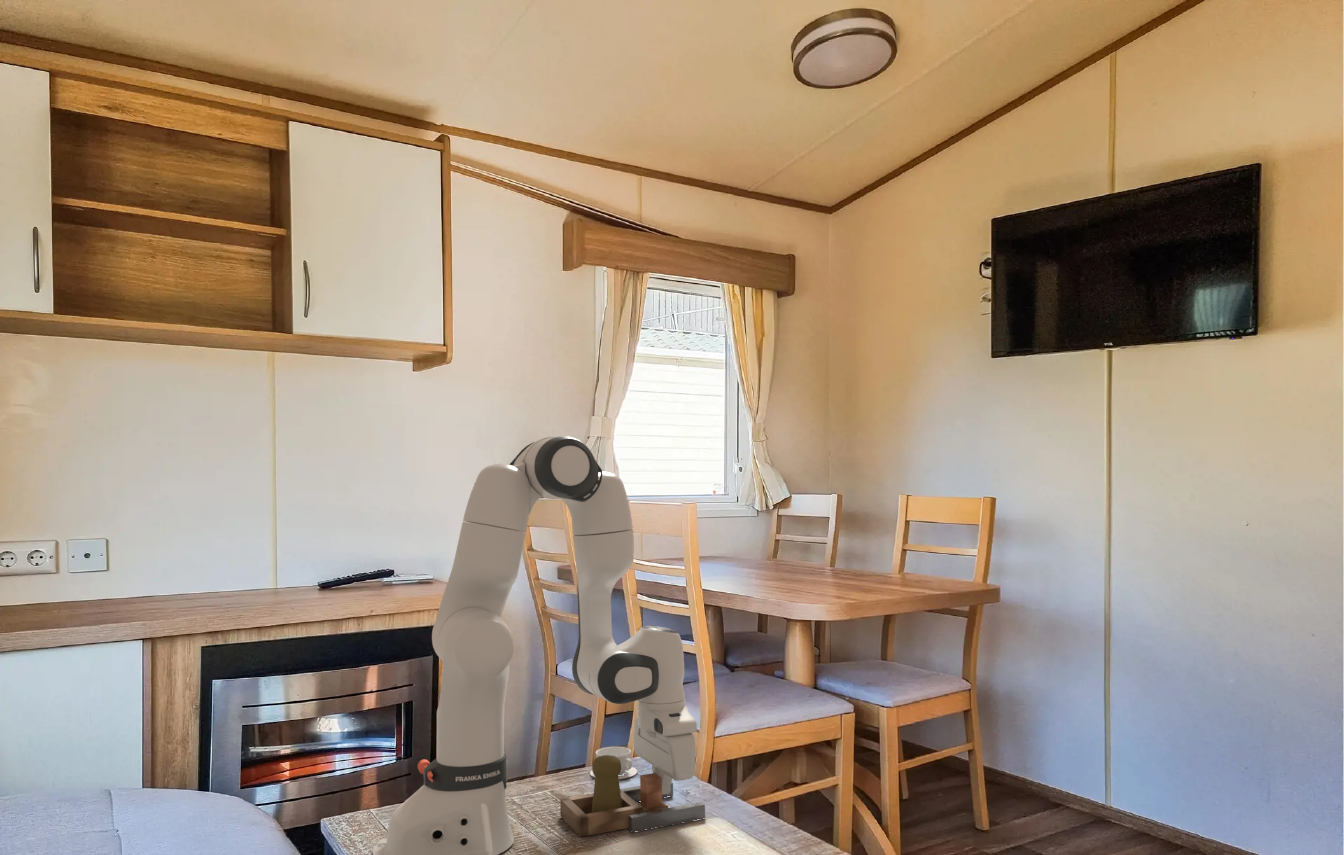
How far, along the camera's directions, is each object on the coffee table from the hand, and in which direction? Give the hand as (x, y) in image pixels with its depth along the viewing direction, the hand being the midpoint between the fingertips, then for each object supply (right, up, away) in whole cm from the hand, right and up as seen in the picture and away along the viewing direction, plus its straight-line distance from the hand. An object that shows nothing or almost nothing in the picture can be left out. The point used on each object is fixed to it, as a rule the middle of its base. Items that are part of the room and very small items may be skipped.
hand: (663, 791), depth 158 cm
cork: (-10, -3, -5) cm, 11 cm away
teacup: (-11, -6, +22) cm, 25 cm away
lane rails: (-2, -3, -1) cm, 4 cm away
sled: (-8, -3, -4) cm, 9 cm away
